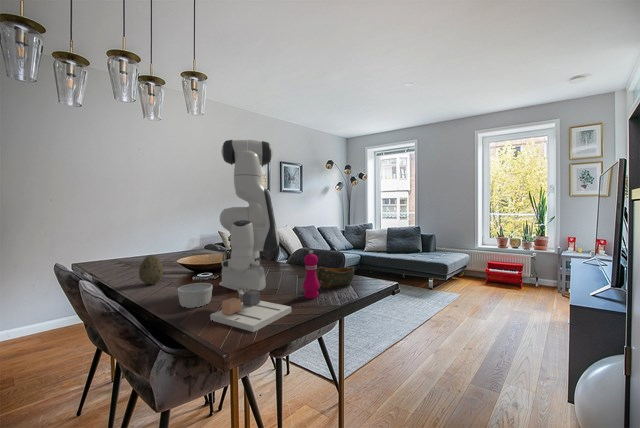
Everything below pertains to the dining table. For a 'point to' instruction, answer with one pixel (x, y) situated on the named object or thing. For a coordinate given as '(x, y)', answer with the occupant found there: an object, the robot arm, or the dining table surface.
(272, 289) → the dining table surface
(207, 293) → the ramekin
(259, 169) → the robot arm
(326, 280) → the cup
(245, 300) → the block
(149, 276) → the decorative egg
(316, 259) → the pepper mill
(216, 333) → the dining table surface
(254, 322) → the fader panel
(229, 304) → the block
